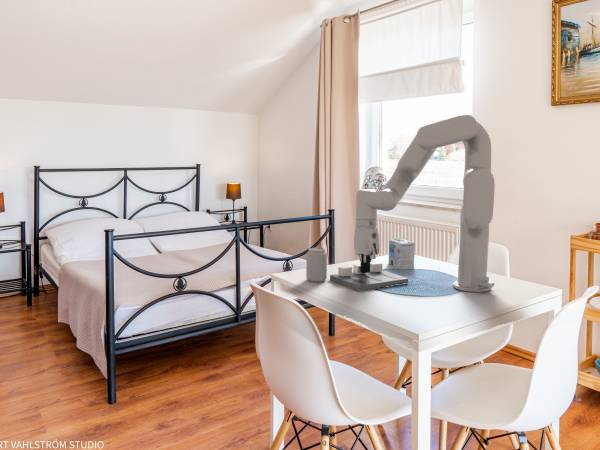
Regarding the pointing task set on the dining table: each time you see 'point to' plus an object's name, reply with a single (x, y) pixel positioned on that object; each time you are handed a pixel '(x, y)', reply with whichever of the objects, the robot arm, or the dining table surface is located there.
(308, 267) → the can
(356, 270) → the handle
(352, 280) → the breaker panel
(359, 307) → the dining table surface
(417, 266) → the dining table surface
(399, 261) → the light bulb box
